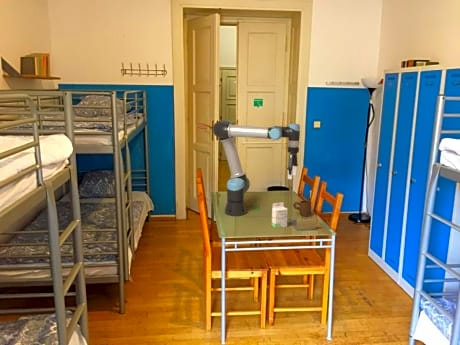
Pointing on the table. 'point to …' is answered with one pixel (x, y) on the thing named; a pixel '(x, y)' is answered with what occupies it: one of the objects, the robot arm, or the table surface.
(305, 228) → the bracket
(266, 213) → the table surface
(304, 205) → the mug
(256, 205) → the table surface
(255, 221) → the table surface
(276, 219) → the ink box
